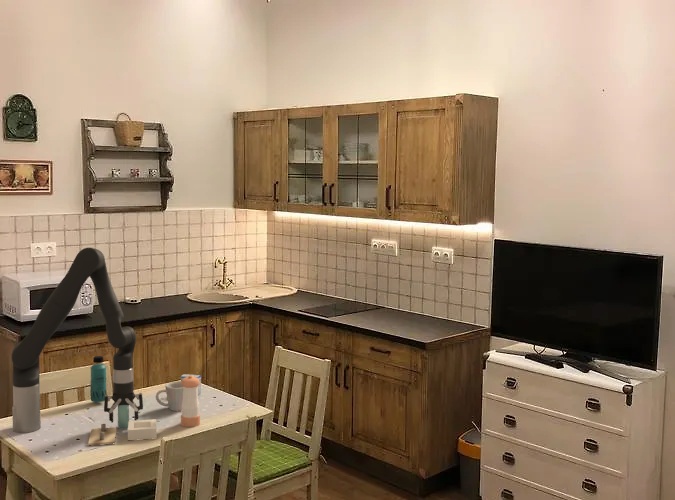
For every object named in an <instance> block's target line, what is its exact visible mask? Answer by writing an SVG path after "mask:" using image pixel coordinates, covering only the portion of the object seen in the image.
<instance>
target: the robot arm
mask: <svg viewBox="0 0 675 500" xmlns="http://www.w3.org/2000/svg"><path fill="white" fill-rule="evenodd" d="M107 268H108V267H107V264H106V260H105V255H104V253H102V251H101V250H99V249H97V248H95V247H84V248H83V249H81V250H80V251H78V253H77V254H76V256H75V258H74V259H73V261H72V263H71V265H70V267H69V268H68V271H67V273H66V274H65V275H64V277H63V278H62V279H61V280H60V281H59V283H58V285H57V286H56V288H55V289H54V290H53V292H52V293H51V294H50V296H48V298H47V300H46V302H45V303H44V304H43V306H42V308H40V310H39V312H38V314H37V317H36V319H35V321H34V322H33V325H32V327H31V329H30V330H29V332H28V333H27V334H26V336H25V337H24V338H23V340H21V341H19V342H17V343H16V344H15V345H14V347H13V349H12V351H11V354H10V355H11V362H12V394H13V395H12V396H13V397H12V402H13V405H12V407H11V409H12V410H11V411H12V432H13V433H14V432H15V433H31V432H35V431H37V430H39V429H41V427H42V426H41V423H42V422H41V391H40V388H41V387H40V371H41V370H40V355H41V354H42V352H43V350H44V348H45V346H46V345H47V343H48V341H49V340H50V339H51V337H52V336H53V335H54V334H55V333H56V332H57V331H58V329H59V327H60V326H61V325H62V324H63V322H64V321H65V320H66V319H67V317H68V316H69V314H71V311H72V310H73V308H74V306H75V304H76V302H77V300H78V297H79V295H80V291H81V290H82V287H83V286H84V285H85V283H86V281H87V280H88V279H89V278H90V280H91V282H92V285H93V286H94V289H95V294H96V299H97V302H98V306H99V308H100V312H101V314H102V316H103V319H104V321H105V329H106V334H107V335H106V336H107V340H108V342H109V344H110V345H111V346H112V348H115V349H117V352H115V354H114V355H113V357H112V358H113V359H112V370H113V371H112V395H108V394H107V395H105V398H104V401H103V402H104V403H103V411H104V412H105V413H108V416H109V419H108V420H109V422H110V423H114V411H115V409H116V408H118V405H129V407H131V409H132V410H134V412H133V414H134V421H137V420H139V411H140V410H141V411H142V410H143V409H144V401H143V392H139V393H135V391H134V389H135V387H134V383H135V382H134V369H133V356H134V355H133V354H134V351H135V348H136V342H137V335H136V332H135V330H134V329H133V327H131V326H122V325H121V322H122V321H123V320H124V318H125V316H124V312H123V310H122V308H121V305H120V302H119V300H118V298H117V295H116V293H115V290H114V288H113V286H112V285H113V284H112V282H111V280H110V276H109V273H108V269H107ZM135 398H136V400H137V401H139V404H138V405H137V404H136V403H135V401H134V399H135ZM111 400H112V401H113V403H112V405H111V406H110V407H109V406H108V405H109V402H110V401H111Z"/></svg>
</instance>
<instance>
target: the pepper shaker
mask: <svg viewBox="0 0 675 500" xmlns="http://www.w3.org/2000/svg"><path fill="white" fill-rule="evenodd" d="M191 375H192V374H190V376H188V377H186V378H184V379H183V380H182V381H181V380H180V381H181V384H182V386H183V401H182V411H181V415H180V425H181V426H182V427H185V428H192V427H193V428H194V427H198V426H200V424H201V415H200V403H199V396H198V385H199V383H200V382H199V379H198V378H196V377H192V376H191Z"/></svg>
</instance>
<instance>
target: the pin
mask: <svg viewBox="0 0 675 500" xmlns="http://www.w3.org/2000/svg"><path fill="white" fill-rule="evenodd" d="M129 421H130V405H118V406H117V428H118V429H120V430H126V429H128V422H129Z"/></svg>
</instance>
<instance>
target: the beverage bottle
mask: <svg viewBox="0 0 675 500" xmlns="http://www.w3.org/2000/svg"><path fill="white" fill-rule="evenodd" d="M92 362H93V363H94V364H93V365H91V366H90V383H89V384H90V385H89V386H90V387H89V388H90V393H89V394H90V401H91V402H93V403H101V402H104V398H105V395H108V393H107V366H106V365H105V364H104V363H103V362H104V356H102V355H96V356H94V357H93V361H92Z"/></svg>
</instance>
